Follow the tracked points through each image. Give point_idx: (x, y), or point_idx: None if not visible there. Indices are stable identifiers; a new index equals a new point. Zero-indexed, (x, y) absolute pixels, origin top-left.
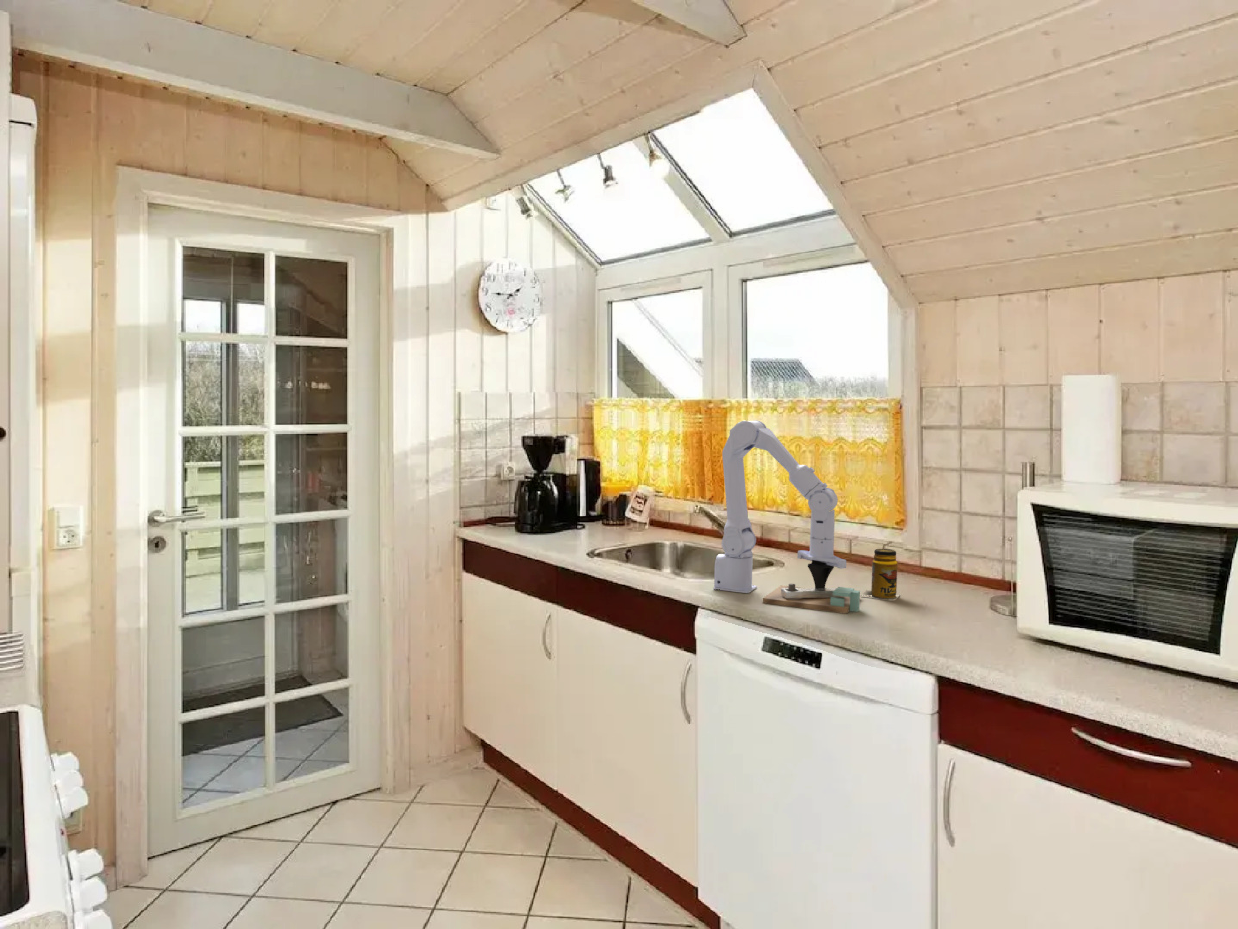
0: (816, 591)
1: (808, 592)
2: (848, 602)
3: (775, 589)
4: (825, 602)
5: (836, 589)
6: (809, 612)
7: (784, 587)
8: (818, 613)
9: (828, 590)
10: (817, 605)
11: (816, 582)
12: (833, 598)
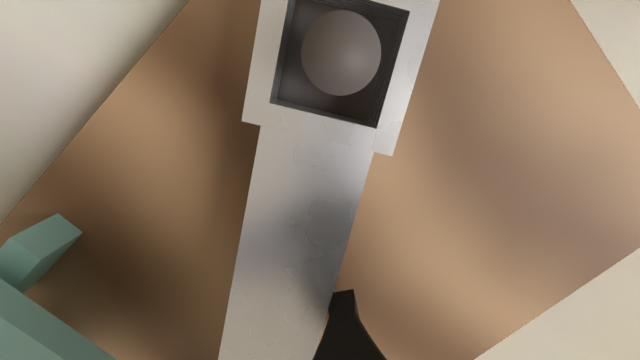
0: (238, 249)
1: (251, 183)
2: (120, 350)
3: (620, 87)
4: (137, 224)
5: (33, 348)
6: (42, 33)
7: (632, 193)
8: (12, 82)
9: (233, 341)
10: (81, 132)
11: (333, 337)
12: (1, 250)
